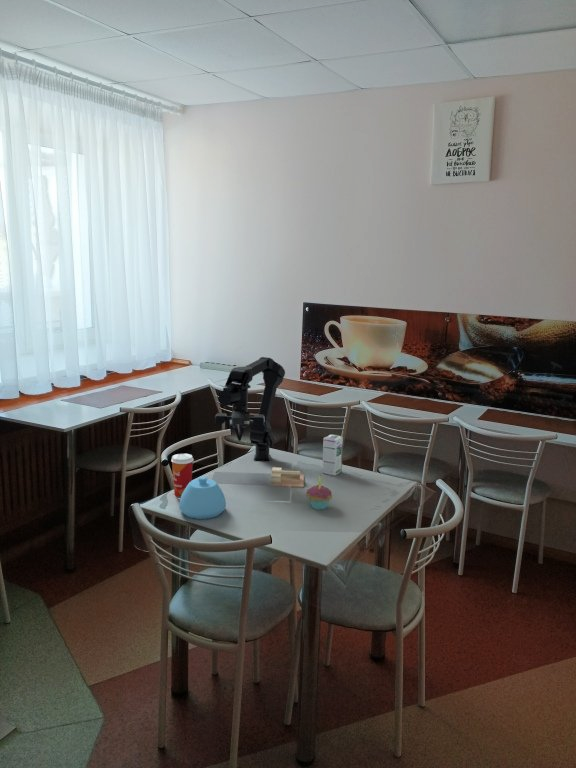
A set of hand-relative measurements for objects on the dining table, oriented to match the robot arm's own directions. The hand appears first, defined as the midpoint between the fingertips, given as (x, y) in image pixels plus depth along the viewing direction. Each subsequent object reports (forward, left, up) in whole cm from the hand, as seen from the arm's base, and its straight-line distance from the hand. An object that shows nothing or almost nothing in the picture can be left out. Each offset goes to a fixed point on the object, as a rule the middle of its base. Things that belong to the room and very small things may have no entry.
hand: (239, 440), depth 241 cm
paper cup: (+27, -17, -12) cm, 34 cm away
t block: (+10, +18, -12) cm, 24 cm away
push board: (+10, +8, -12) cm, 18 cm away
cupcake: (+33, +30, -12) cm, 46 cm away
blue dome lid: (+40, -8, -12) cm, 43 cm away
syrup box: (-1, +36, -12) cm, 38 cm away
